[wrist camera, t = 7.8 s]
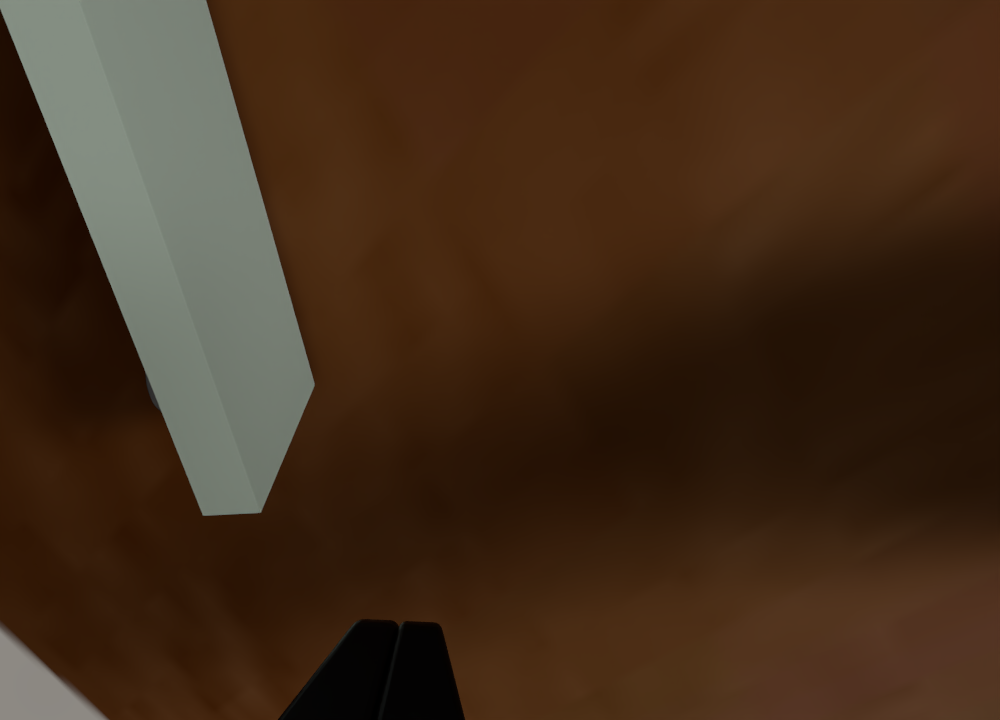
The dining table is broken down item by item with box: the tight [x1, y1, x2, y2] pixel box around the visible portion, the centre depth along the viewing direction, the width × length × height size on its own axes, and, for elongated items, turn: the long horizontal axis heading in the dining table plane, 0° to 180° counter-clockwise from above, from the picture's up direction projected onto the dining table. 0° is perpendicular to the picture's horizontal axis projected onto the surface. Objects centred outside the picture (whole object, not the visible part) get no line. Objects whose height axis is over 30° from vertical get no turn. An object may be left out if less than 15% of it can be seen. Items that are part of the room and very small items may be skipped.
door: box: [0, 0, 315, 516], centre depth 16 cm, size 2×16×4 cm, turn 7°
